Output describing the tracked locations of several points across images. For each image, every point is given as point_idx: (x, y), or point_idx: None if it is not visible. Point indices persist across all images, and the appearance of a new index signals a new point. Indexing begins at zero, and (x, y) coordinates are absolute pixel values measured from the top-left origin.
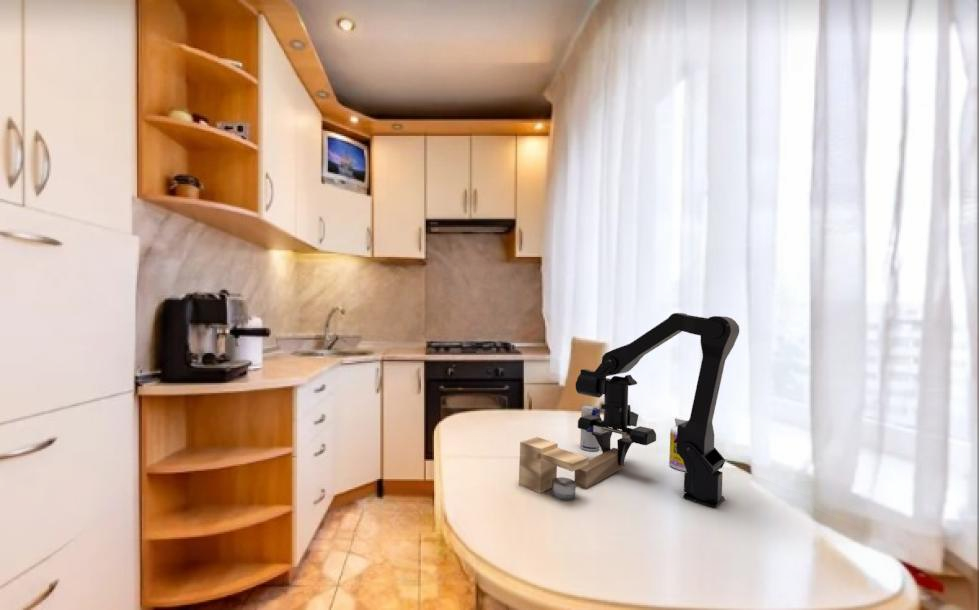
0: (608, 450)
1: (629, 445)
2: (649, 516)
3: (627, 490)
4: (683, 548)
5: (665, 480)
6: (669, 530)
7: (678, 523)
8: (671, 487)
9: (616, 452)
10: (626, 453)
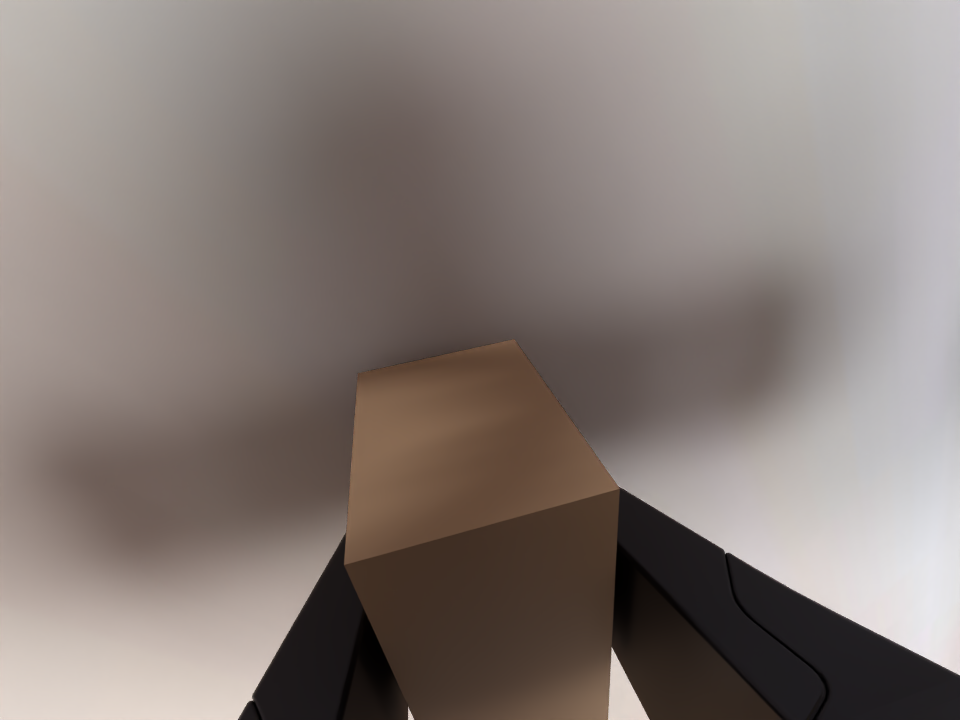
0: (409, 693)
1: (938, 706)
2: None
3: None
4: (956, 661)
5: (909, 184)
6: (923, 639)
7: (955, 588)
8: (952, 289)
9: (559, 641)
10: (699, 537)
